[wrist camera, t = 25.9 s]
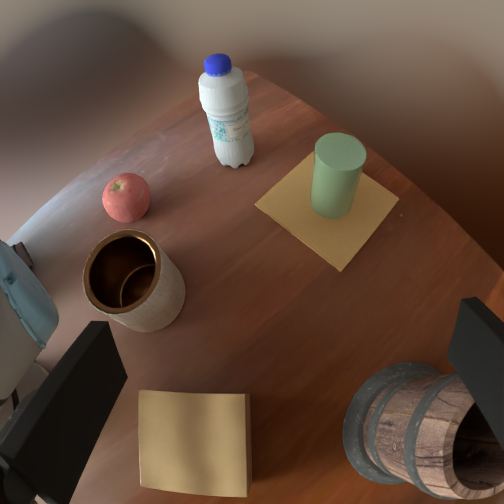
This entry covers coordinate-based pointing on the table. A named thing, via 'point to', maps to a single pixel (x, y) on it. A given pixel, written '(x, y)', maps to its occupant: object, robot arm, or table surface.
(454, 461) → the tankard
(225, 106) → the bottle
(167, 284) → the planter
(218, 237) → the table surface
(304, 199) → the cork mat
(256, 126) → the table surface
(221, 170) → the table surface
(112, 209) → the apple
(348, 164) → the canister
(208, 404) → the plate
